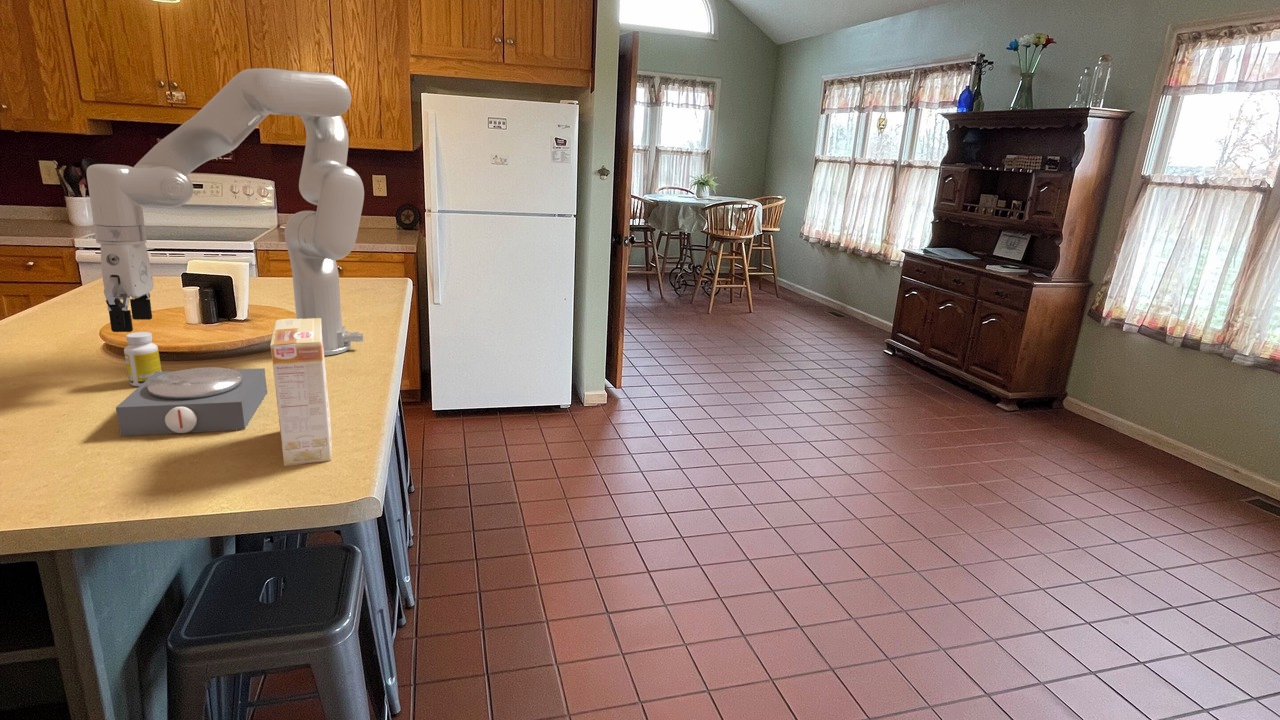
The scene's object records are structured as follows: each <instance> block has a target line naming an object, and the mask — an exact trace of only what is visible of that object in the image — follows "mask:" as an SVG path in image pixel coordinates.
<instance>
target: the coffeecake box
mask: <svg viewBox="0 0 1280 720" xmlns="http://www.w3.org/2000/svg"><path fill="white" fill-rule="evenodd" d="M271 335H272V336H271V339H270V345H269V347H270V351H271V359H272V367H273V378H274V387H275V396H276V403H277V414H278V422H279V430H280V439H281V447H282V448H281V449H282V450H281V451H282V457H283V458H282V459H283V466H284V467H288V466H289V467H291V466H297V465H303V464H304V465H305V464H310V463H311V464H312V463H323V462H329V461H332V456H333V455H332V452H333V451H332V448H333V447H332V425H331V411H330V402H329V392H328V382H327V379H328V378H327V372H326V369H327V368H326V360H325V356H324V348H323V338H322V324H321V318H310V319H296V318H281V319H276V320H275V323H274V326H273V330H272V334H271Z"/></svg>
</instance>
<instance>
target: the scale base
mask: <svg viewBox="0 0 1280 720" xmlns="http://www.w3.org/2000/svg"><path fill="white" fill-rule="evenodd" d="M232 369H233V370H236V371H238V372H240V373H241V375H242V383H241V384H240V385H239V386H238V387H236V388H234V389H232V390H230V391H227V392H224V393H221V394H217V395H213V396H208V397H202V398H193V399H164V398H158V397H154V396H152V395H150V394H149V392H148V387H147V384H148V383H149V381H151V380H152V379H154V378H156V377H158V376H161V375H164V374H167V373H171V372H175V370H172V371H170V370H169V371H162V372H155V373H154V374H153V375H152V376H151V377H150V378H148V379H147V380H146V381H145V382H144V383H143V384H142V385H140V386H137V388H136V389H135V390H134V391H132V392H131V393H130V394H129V395H128V396H127V397H125V399H124V400H122V401H121V402H120V403H119V404H118V405H117V406H115V411H116V416H117V417H116V418H117V422H118V423H117V424H118V427H119V432H120V436H121V437H130V436H133V437H134V436H149V435H163V434H164V435H165V434H166V435H169V434H184V433H185V434H186V433H187V434H189V433H204V432H205V433H207V432H222V431H223V430H225V431H238V429H244V430H246V429H245V428H247V427H248V426H249V424H248V423H250V422H251V420H252V419H253V417H254V416H253V415H255V414H256V412H257V411H256V410H258V409H259V407H260V406H261V404H262V403H263V401H264V399H265V398H264V397H266V396H267V394H268V388H267V387H268V386H267V378H266V369H265V368H239V369H238V368H236V369H234V368H232ZM265 395H266V396H265ZM262 400H263V401H262ZM259 405H260V406H259ZM257 408H258V409H257ZM254 413H255V414H254ZM252 416H253V417H252ZM251 418H252V419H251ZM250 419H251V420H250ZM249 421H250V422H249ZM246 426H247V427H246ZM236 429H237V430H236ZM223 432H224V431H223Z"/></svg>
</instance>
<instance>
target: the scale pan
mask: <svg viewBox="0 0 1280 720" xmlns="http://www.w3.org/2000/svg"><path fill="white" fill-rule="evenodd" d="M233 369H234V368H229V367H227V368H226V367H220V366H219V367H217V366H215V367H212V366H211V367H209V366H207V367H206V366H205V367H194V368H186V369H181V370H176V371H175V370H174V371H175V372H171V373H167V374H164V375H161V376H158V377H156V378H154V379H152V380H151V381H149V383H148V384H147V387H148V392H149V394H150V395H152V396H154V397H158V398H164V399H193V398H202V397H208V396H213V395H217V394H221V393H224V392H227V391H230V390H232V389H234V388H236V387H238V386H239V385H240V384H241V383H242V375H241V373H240V372H238V371H236V370H233Z"/></svg>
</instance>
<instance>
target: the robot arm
mask: <svg viewBox="0 0 1280 720" xmlns="http://www.w3.org/2000/svg"><path fill="white" fill-rule="evenodd" d="M351 104H352V93H351V89H350V88H349V86H348V84H347V83H346V82H345V81H344V80H343V78H341V77H339V76H338V75H335V74H333V73H328V72H316V71H315V72H313V71H301V70H288V69H279V68H271V67H269V68H268V67H264V68H263V67H259V68H247V69H246V68H245V69H244V70H241V71H239V72H238V73H237V74H236V75H234V76H233V77H232V78H231V79H230V80H229V81H228V82H227V83H226V84H225V85H224V86H223V87H222V88H221V89H220V90H219V91H218V92H217V93H216V94H215V95H214V96H213V97H212V98H211V99H210V100H209V101H208V102H207V103H206V104H205V105H204V106H203V107H202V108H201V109H200V110H199V111H197V113H196V114H194V115H193V116H192V117H190V119H188V120H186V121H185V122H184V123H182V124H181V125H180V126H179V127H177V128H176V129H175V130H173V131H171V132H170V133H169V134H167V135H166V136H165V137H164V138H162V139H161V140H160V141H158V143H156V144H155V145H154V146H153V147H152V148H151V149H150V150H149V151H148V152H147V153H146V154H144V156H143V157H141V159H139V160H138V161H137V163H136V164H135V165H134V166H130V165H125V164H113V163H112V164H110V163H95V164H92V165H91V164H90V165H89V166H88V167H87V168H86V181H87V186H88V187H87V188H88V193H89V201H90V202H89V203H90V207H91V214H92V215H91V216H92V221H93V222H92V223H93V230H94V236H95V242H96V244H98V245H99V244H100V262H101V264H100V266H101V275H102V282H103V295H104V297H105V302H106V303H105V304H106V305H107V311H108V315H109V322H110V328H111V329H110V330H111V332H112V333H132V332H133V331H134V327H133V320H137V321H138V320H140V321H141V320H143V321H145V320H148V321H149V320H152V319H153V311H152V304H151V293H150V292H151V291H153V289H154V279H153V275H152V268H151V264H150V258H149V254H148V250H147V249H148V248H147V246H146V243H147V241H148V240H147V233H146V225H145V218H144V208H143V206H151V207H153V206H154V207H161V208H177V207H181V206H184V205H186V204H187V203H188V202H190V200H191V199H192V197H193V195H194V185H193V181H192V180H191V178H190V177H189V174H191V173H192V172H193V171H195V170H196V169H197V168H198V167H200V166H201V165H203V164H205V163H206V162H209V161H211V160H213V159H216V158H219V157H222V156H225V155H226V154H229V153H230V152H232V151H234V150H235V149H237V148H238V147H239V146H240V144H241V143H243V141H245V139H246V138H247V137H248V136H249V135H250V134H252V132H253V131H254V130H255V129H256V128H257V127H259V125H260V124H261V123H262V122H263V121H264V120H265V119H266V118H267V117H268V116H269V115H278V116H279V115H280V116H281V115H283V116H292V117H293V116H295V117H299V118H300V119H301V121H302V123H303V125H304V128H305V134H306V137H305V139H306V140H305V147H304V153H303V159H302V164H301V169H300V175H299V181H298V189H299V193H300V195H301V196H302V198H303V199H304V201H306V202H308V203H310V204H312V205H315V206H317V207H316V211H314V210H301V211H298V212H296V213H294V214H292V215H291V216H290V217H289V218H288V219H287V221H286V223H285V226H284V240H285V245H286V248H287V252H288V253H287V254H288V255H289V261H290V268H291V275H292V284H293V286H292V287H293V296H294V307H295V309H294V310H295V319H310V318H321V324H322V338H323V348H324V357H326V356H334V355H338V354H342V353H345V352H347V351H349V350H350V349H351V347H352V344H351V343H352V342H356V343H358V342H359V343H360V342H361V343H363V342H364V340H365V339H364V333H359V331H356V332H355V331H353V332H349V331H348V330H347V331H346V326H343V318H342V306H341V305H342V303H341V290H340V274H339V268H338V264H337V261H339V260H342V259H344V258H345V257H347V256H348V255H349V254H350V253H351V252H352V250H353V249H354V247H355V244H356V241H357V239H358V238H357V237H358V233H359V228H360V222H361V217H362V212H363V206H364V200H365V189H364V188H365V187H364V183H363V181H362V178H361V176H360V175H359V174H358V173H357V171H355V170H354V169H353V168H352V167H349V166H348V165H347V162H348V152H349V143H350V142H349V140H350V138H349V133H348V129H347V125H346V123H345V120H344V118H343V117H342V115H345V113H346V112H348V110H349V109H350V106H351ZM130 297H131V298H130ZM129 305H130V309H129Z"/></svg>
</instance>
